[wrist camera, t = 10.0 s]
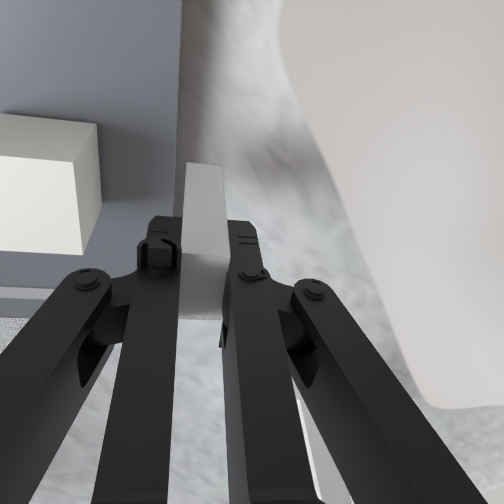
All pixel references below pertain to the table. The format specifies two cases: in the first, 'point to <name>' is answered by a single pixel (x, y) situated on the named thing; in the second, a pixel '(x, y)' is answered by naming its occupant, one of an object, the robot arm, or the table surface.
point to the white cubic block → (48, 184)
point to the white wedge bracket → (321, 459)
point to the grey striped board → (96, 121)
